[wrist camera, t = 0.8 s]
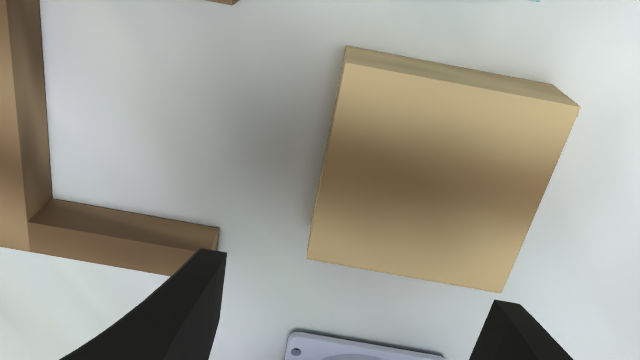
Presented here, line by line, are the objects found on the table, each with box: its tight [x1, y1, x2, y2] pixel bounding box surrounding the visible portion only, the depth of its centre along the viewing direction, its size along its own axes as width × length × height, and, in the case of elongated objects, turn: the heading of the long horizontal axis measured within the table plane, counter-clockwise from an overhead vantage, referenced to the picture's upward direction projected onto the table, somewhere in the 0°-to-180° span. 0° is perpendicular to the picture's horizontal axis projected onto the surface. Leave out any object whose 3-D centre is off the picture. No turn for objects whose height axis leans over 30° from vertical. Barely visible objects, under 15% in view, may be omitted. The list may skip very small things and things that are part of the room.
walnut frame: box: [0, 0, 239, 276], centre depth 18 cm, size 20×9×2 cm, turn 170°
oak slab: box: [306, 46, 581, 293], centre depth 20 cm, size 8×8×3 cm
